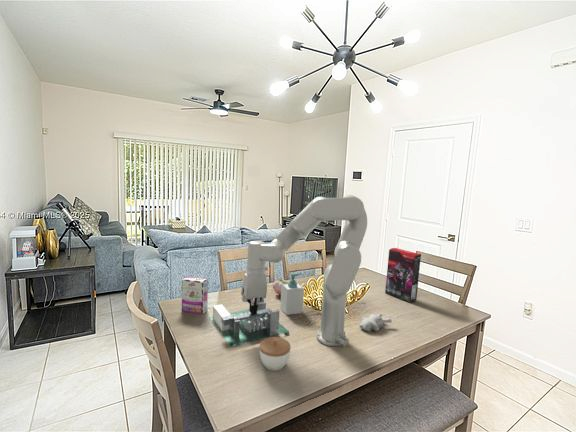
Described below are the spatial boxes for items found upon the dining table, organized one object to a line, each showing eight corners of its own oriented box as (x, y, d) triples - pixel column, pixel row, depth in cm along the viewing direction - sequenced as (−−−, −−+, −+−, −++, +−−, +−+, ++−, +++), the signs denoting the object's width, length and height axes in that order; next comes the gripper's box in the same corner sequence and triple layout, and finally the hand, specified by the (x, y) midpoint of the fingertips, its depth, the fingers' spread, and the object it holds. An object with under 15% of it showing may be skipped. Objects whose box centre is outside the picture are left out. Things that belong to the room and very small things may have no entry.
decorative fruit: (291, 295, 171) (292, 277, 170) (284, 299, 164) (284, 281, 163) (278, 291, 176) (278, 274, 174) (269, 295, 169) (270, 278, 168)
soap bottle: (303, 313, 149) (305, 275, 146) (286, 315, 146) (288, 276, 143) (296, 305, 157) (298, 270, 154) (280, 307, 154) (281, 271, 151)
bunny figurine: (354, 318, 137) (377, 308, 145) (355, 328, 138) (377, 317, 146) (370, 327, 130) (394, 316, 137) (370, 338, 130) (393, 326, 138)
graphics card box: (383, 293, 181) (388, 248, 177) (390, 291, 185) (395, 247, 181) (410, 303, 167) (415, 255, 164) (417, 300, 171) (422, 253, 168)
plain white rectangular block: (231, 328, 128) (231, 315, 127) (221, 331, 126) (222, 317, 125) (221, 316, 139) (221, 304, 138) (212, 318, 136) (212, 305, 136)
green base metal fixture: (289, 333, 128) (290, 309, 127) (230, 349, 115) (231, 322, 113) (260, 308, 151) (261, 287, 150) (209, 319, 138) (209, 296, 136)
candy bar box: (207, 311, 145) (208, 278, 143) (202, 316, 140) (203, 282, 138) (187, 308, 148) (187, 275, 146) (181, 312, 143) (181, 279, 141)
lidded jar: (288, 356, 112) (290, 332, 111) (289, 375, 101) (291, 349, 100) (259, 356, 112) (260, 332, 110) (257, 374, 101) (258, 348, 100)
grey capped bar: (272, 314, 130) (272, 309, 130) (224, 326, 119) (224, 320, 119) (268, 311, 133) (268, 306, 133) (221, 322, 122) (221, 316, 122)
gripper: (267, 266, 132) (265, 306, 135) (235, 270, 125) (233, 312, 127) (276, 271, 126) (273, 313, 128) (242, 275, 118) (239, 320, 121)
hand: (253, 312), depth 128 cm, fingers closed
